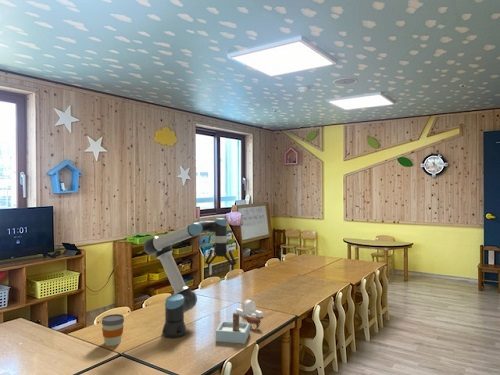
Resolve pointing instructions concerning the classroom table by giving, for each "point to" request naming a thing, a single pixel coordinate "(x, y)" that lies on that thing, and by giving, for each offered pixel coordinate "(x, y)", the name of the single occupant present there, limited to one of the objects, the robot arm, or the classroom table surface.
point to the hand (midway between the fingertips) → (220, 275)
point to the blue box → (232, 332)
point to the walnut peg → (236, 322)
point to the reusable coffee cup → (112, 329)
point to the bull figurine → (253, 320)
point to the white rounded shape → (249, 309)
